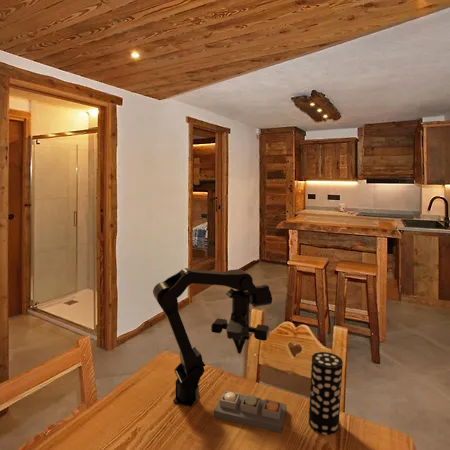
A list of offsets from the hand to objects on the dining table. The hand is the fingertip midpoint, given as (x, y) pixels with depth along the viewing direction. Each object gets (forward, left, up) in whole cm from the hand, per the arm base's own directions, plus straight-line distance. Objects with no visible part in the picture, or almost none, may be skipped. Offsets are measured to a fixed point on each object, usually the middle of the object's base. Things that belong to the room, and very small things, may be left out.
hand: (239, 353), depth 115 cm
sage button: (+7, -12, -9) cm, 17 cm away
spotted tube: (+28, -10, -12) cm, 32 cm away
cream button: (0, -12, -10) cm, 15 cm away
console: (+7, -12, -12) cm, 18 cm away
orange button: (+13, -12, -10) cm, 20 cm away
